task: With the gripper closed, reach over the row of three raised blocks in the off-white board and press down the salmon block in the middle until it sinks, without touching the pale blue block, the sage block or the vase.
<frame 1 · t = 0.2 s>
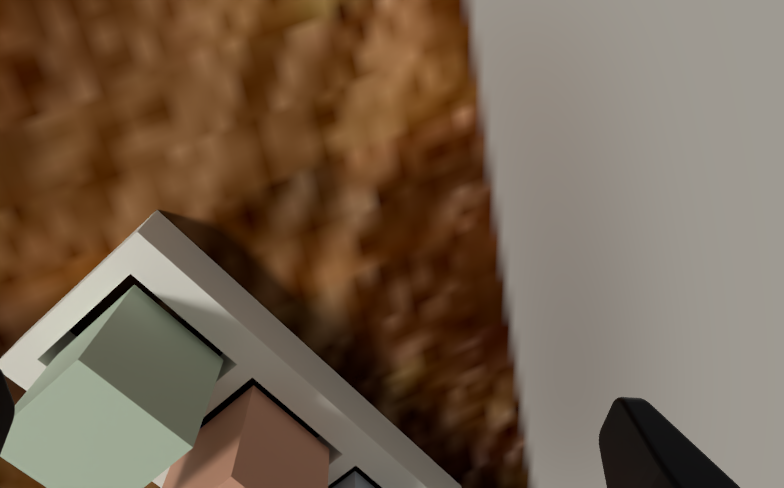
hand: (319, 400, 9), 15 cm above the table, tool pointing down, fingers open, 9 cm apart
sage button: (118, 397, 21), point 5 cm above the table, slide at 0.0 cm
button board: (261, 416, 27), on the table
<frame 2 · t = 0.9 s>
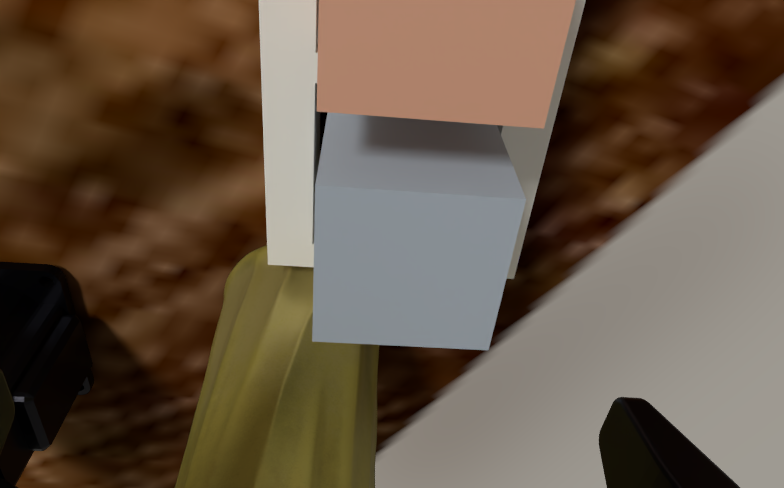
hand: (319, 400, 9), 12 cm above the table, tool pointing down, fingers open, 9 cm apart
pale blue block: (406, 217, 16), point 5 cm above the table, slide at 0.0 cm
vase: (306, 297, 24), on the table
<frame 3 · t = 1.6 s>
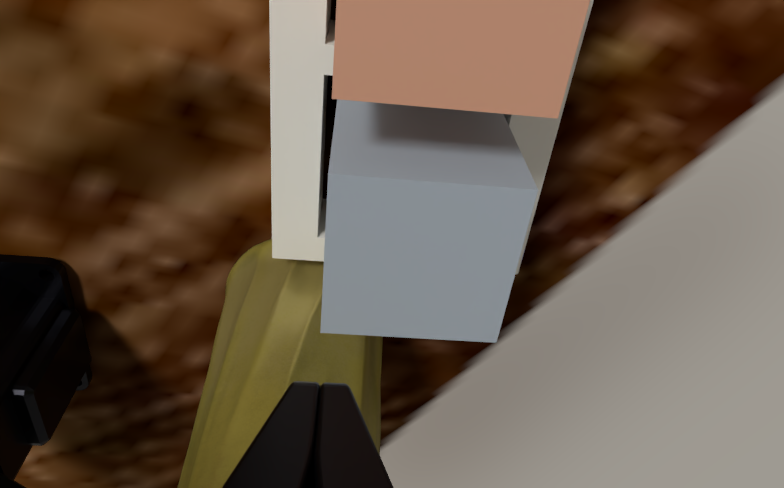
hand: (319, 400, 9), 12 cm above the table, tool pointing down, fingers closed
pale blue block: (414, 209, 16), point 5 cm above the table, slide at 0.0 cm
vase: (308, 293, 24), on the table
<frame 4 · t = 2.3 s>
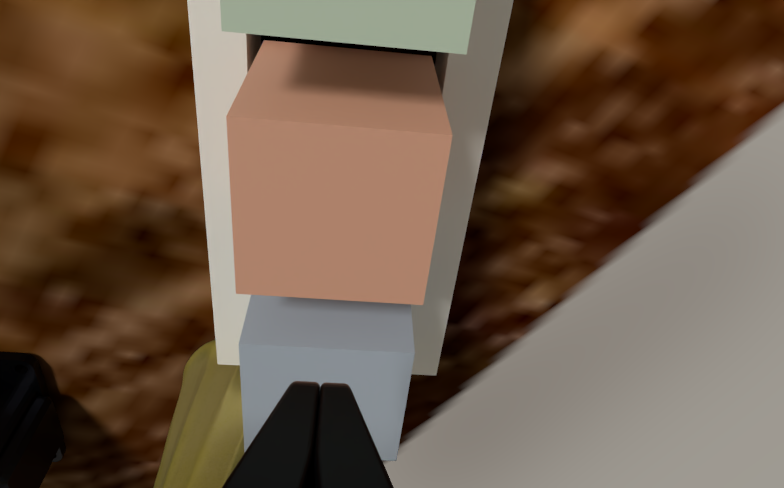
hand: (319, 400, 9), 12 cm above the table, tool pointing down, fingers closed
pale blue block: (329, 342, 18), point 5 cm above the table, slide at 0.0 cm
button board: (346, 98, 19), on the table
vase: (258, 378, 26), on the table
salmon block: (340, 167, 15), point 5 cm above the table, slide at 0.0 cm
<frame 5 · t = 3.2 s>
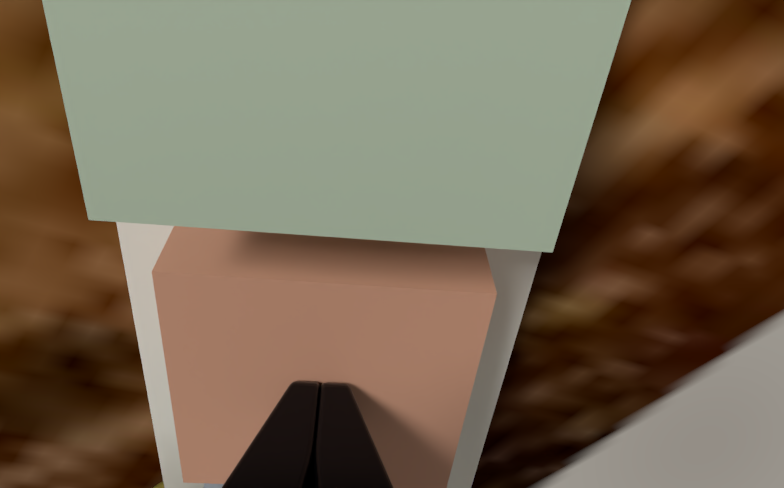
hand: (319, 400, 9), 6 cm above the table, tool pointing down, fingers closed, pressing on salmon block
button board: (338, 200, 14), on the table
salmon block: (330, 292, 11), point 3 cm above the table, slide at 1.3 cm, touching gripper
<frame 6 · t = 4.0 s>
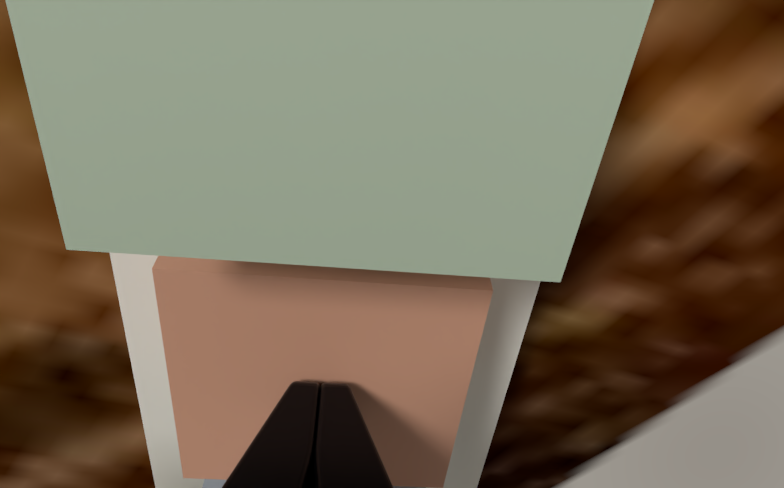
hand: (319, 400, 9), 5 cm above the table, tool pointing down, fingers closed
button board: (336, 211, 13), on the table
salmon block: (329, 290, 11), point 3 cm above the table, slide at 1.8 cm
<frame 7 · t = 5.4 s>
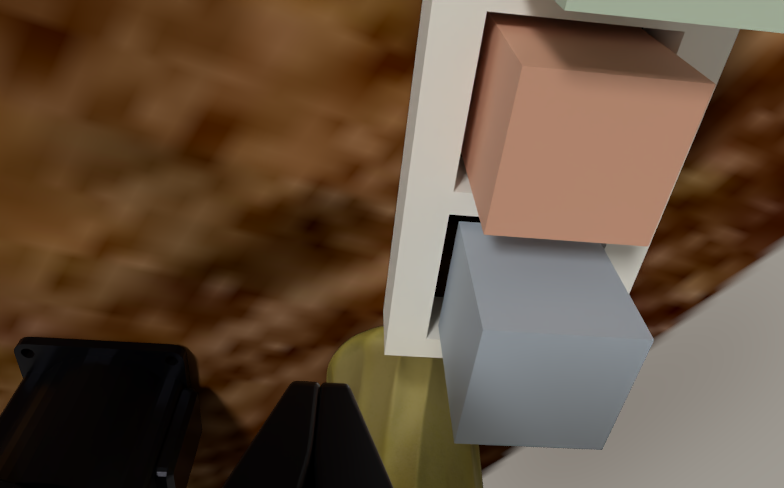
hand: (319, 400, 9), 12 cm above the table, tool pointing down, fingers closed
pale blue block: (527, 331, 18), point 5 cm above the table, slide at 0.0 cm
button board: (540, 87, 19), on the table
vase: (398, 370, 26), on the table
salmon block: (564, 122, 17), point 3 cm above the table, slide at 1.8 cm
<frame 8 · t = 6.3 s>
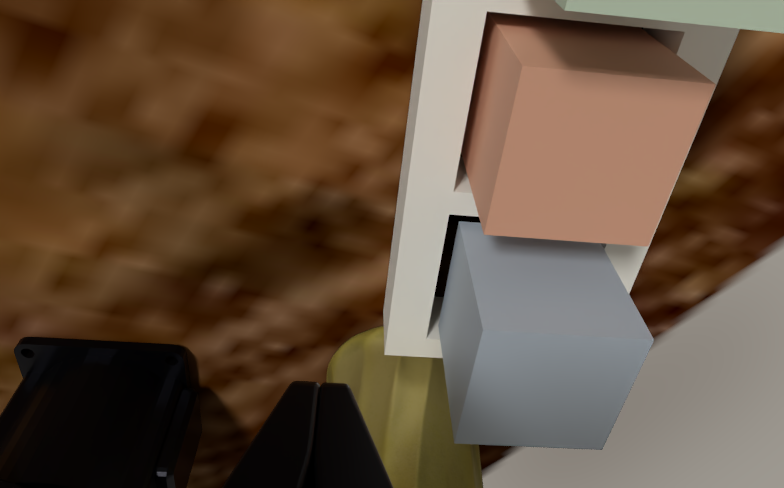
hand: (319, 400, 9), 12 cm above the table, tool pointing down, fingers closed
pale blue block: (527, 331, 18), point 5 cm above the table, slide at 0.0 cm
button board: (540, 87, 19), on the table
vase: (398, 370, 26), on the table
salmon block: (564, 122, 17), point 3 cm above the table, slide at 1.8 cm
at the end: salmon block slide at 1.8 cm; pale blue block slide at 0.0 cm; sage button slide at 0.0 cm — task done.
